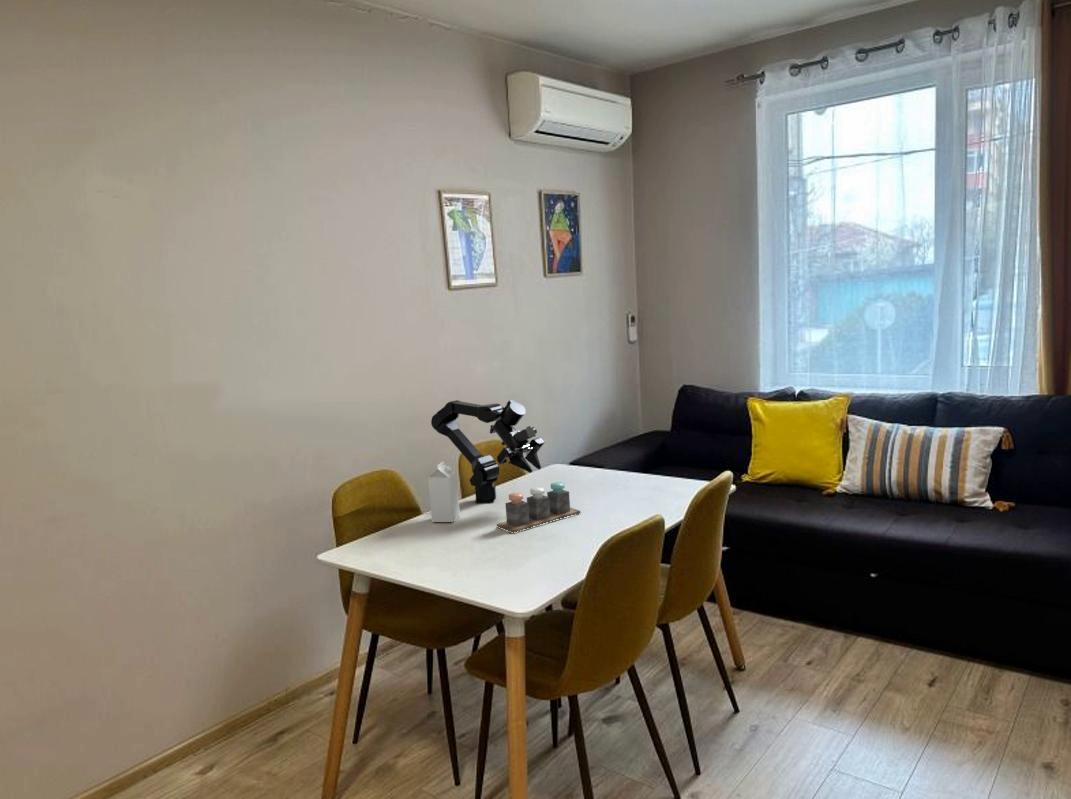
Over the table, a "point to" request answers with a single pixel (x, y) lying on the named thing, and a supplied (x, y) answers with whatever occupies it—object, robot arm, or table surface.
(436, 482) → the milk carton
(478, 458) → the robot arm
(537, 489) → the white button
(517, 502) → the peach ball
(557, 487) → the teal button
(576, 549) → the table surface
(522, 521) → the button stand
